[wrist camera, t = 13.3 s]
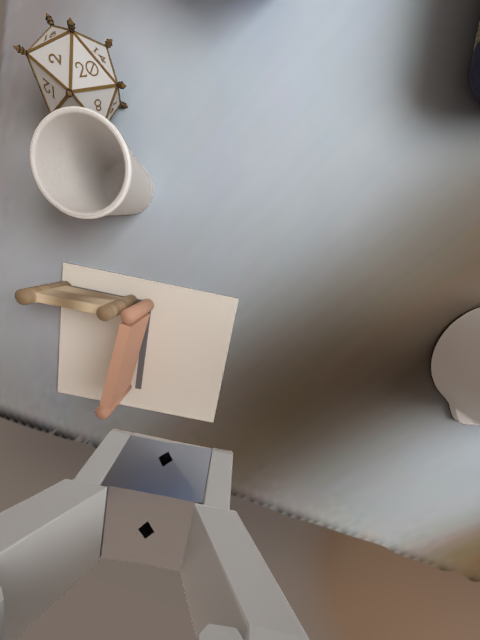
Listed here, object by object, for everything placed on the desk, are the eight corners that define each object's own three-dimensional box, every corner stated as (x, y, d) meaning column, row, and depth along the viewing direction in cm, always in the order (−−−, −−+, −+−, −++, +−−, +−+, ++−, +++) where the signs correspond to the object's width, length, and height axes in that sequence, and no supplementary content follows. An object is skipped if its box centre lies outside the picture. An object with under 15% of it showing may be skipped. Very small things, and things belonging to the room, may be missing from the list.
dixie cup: (106, 233, 34) (50, 228, 24) (83, 157, 32) (11, 119, 22) (173, 218, 33) (142, 207, 24) (153, 140, 31) (111, 92, 22)
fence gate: (143, 296, 35) (121, 307, 29) (155, 300, 35) (136, 312, 29) (118, 389, 39) (94, 416, 32) (130, 392, 39) (107, 420, 32)
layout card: (238, 298, 36) (238, 299, 35) (213, 420, 40) (213, 422, 40) (64, 262, 35) (62, 262, 34) (59, 390, 40) (57, 392, 39)
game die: (118, 98, 34) (116, -11, 25) (137, 160, 32) (142, 70, 24) (28, 89, 30) (-12, -43, 21) (46, 159, 29) (10, 51, 20)
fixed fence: (139, 295, 36) (112, 307, 29) (137, 307, 36) (111, 322, 29) (60, 279, 35) (14, 287, 28) (60, 291, 36) (14, 303, 29)
